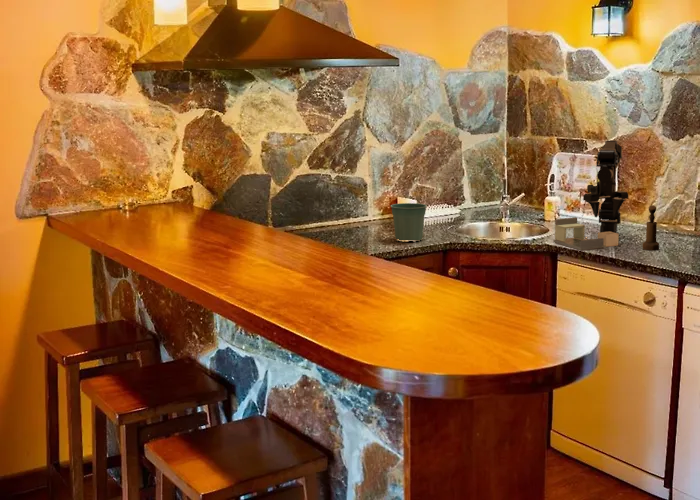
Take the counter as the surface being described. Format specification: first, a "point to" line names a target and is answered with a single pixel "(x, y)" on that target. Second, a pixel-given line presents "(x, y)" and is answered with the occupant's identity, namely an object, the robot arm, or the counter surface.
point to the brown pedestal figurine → (651, 232)
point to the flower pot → (408, 220)
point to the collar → (609, 238)
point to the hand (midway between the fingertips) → (605, 216)
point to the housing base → (582, 243)
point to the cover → (567, 224)
